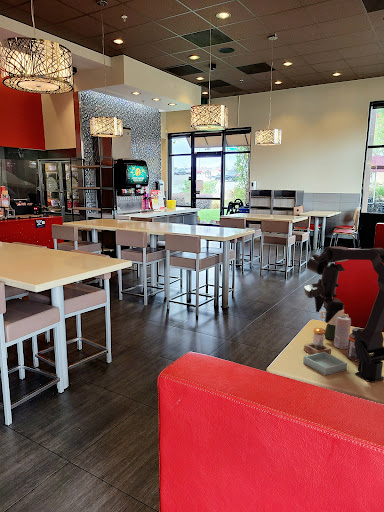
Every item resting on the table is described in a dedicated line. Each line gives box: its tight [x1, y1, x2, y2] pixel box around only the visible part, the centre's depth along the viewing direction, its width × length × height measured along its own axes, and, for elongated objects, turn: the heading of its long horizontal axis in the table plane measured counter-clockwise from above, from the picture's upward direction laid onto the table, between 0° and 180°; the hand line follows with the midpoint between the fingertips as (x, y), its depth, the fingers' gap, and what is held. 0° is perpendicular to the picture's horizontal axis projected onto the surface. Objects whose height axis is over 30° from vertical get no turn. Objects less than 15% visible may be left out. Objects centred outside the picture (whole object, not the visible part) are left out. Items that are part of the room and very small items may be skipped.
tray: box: [302, 352, 348, 376], centre depth 133 cm, size 10×10×2 cm
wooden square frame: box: [303, 342, 332, 355], centre depth 145 cm, size 7×7×2 cm
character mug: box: [319, 309, 349, 340], centre depth 159 cm, size 11×7×13 cm, turn 67°
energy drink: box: [333, 316, 352, 350], centre depth 151 cm, size 5×5×12 cm
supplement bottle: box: [346, 327, 362, 362], centre depth 140 cm, size 6×6×11 cm
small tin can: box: [312, 327, 325, 350], centre depth 145 cm, size 4×4×9 cm
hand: (321, 317), depth 146 cm, fingers open, 9 cm apart
